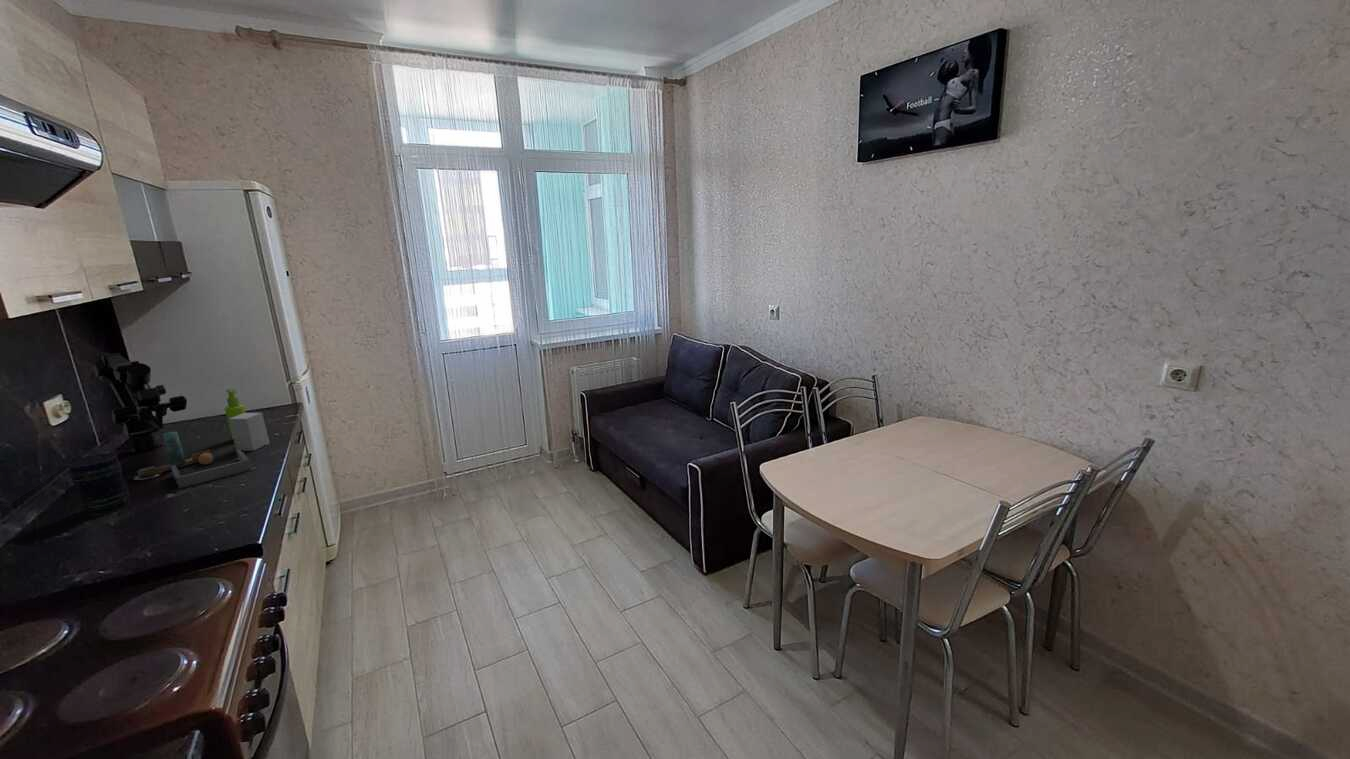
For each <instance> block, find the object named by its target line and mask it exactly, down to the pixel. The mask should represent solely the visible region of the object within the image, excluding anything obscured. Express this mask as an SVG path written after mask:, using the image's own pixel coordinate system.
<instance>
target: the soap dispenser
mask: <svg viewBox="0 0 1350 759" xmlns="http://www.w3.org/2000/svg"><path fill="white" fill-rule="evenodd" d="M225 391H226V392H227V393H228V394H227V395H228V398H226V400H227V405H228V406H227V407H224V410H225V415H226V419H227V422H228V423H227V424H228V427H229V431H230V435H231V438H232V440H233V435H232V431H231V427H230V423H229V420H228V419H230V418H232V417H235V416H238V415H240V414H243V413H247V412H246V408H245V404H240V400H239V397H238V396H236V395H235V394H238V393H237V390H236V389H235V388H229V389H226V390H225Z"/></svg>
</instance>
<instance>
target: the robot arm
mask: <svg viewBox="0 0 1350 759" xmlns="http://www.w3.org/2000/svg"><path fill="white" fill-rule="evenodd" d="M93 370H94V371H93V372H94V375H95V377H96V378H99V380H100V381H101V383H102V384H105V385H107V386H110V388H112V391H113V393H114V394H115V396H116V398H117V400H118V402H119V404H120V405H121V407H116V408H114V409H113V410H112V411H111V418H112V421H113V423H114V425H119V424H120V425H121V424H123V427H122V428H123V430H122V431H123V434H124V435H125V436H124V437H125V438H128V439H131V444H132V448H133V449H132V450H130V453H131V452H133V453H138V452H137V451H148V452H151V451H153V450H152V449H154V450H155V448H156V447H158V446H160V444H161V445H162V446H163V443H158V440H157V437H156V434H155V433H156V432H160V430H162V429H164V422H163V421H164V420H163V417H165V416H166V415H168V414H167V412H168V409H169V410H170V411H171V412H173V413H174V412H180V411H184V410H186V409H187V401H188V399H187V398H186V397H185V396H183V395H179V396H178V395H177V396H172V397H169V400H168V402H167V401H166V402H162V403H160V402H161V401H162V399H161V396H164V395H166V394H167V390H166V388H165V386H164V385H163V384H159V385H156V386H155V387H151V385H150V382H151V371H152V370H151V367H150V366H149V365H148V364H144V363H140V362H139V360H135V361H134V360H133V361H129V360H128V359H127V358H125V357H124V356H123V355H122V353H120V352H115V353H106V354H104V355H101V358H100V359H99V360H97V361H96V362H94V365H93ZM153 412H154V413H155V414H154V413H153ZM160 447H161V446H160ZM158 448H159V447H158ZM156 449H157V448H156ZM150 450H151V451H150Z"/></svg>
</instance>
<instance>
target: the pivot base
mask: <svg viewBox="0 0 1350 759" xmlns="http://www.w3.org/2000/svg"><path fill="white" fill-rule="evenodd" d="M162 473H163V472H160V473H157V474H156V475H153V476H150V477H146V478H139V475H136V476H134V477H133V481H135V480H142V481H147V480H146V479H148V480H151V479H150V478H152V479H155V478H157V476H158V477H160V476H161V474H162ZM163 474H164V473H163ZM163 474H162V475H163ZM154 477H155V478H154Z"/></svg>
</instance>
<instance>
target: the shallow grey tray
mask: <svg viewBox="0 0 1350 759" xmlns="http://www.w3.org/2000/svg"><path fill="white" fill-rule="evenodd" d="M235 452H236V456H237V459H238V461H236V462H232V463H227V464H224V465H220V466H216V467H212V468H208V469H204V470H199V471H196V472H191V473H188V474H183V475H181V474H180V471H179V468H177V467H176V465H173V466H171V470H170V471H171V472H172V473H171V474H172V477H173V478H174V481H175V482H176V485H177V487H178V489H179V488H180V489H182V488H181V487H184V488H187V487H186V486H188V487H190V486H189V485H192V486H194V484H195V485H198V484H202V483H205V482H206V483H207V482H211V481H213V480H214V481H215V480H217V479H221V478H225V477H228V476H229V477H230V476H232V475H236V474H241V473H244V472H248V471H252V470H253V468H252V464H251V460H250V459H249V458H248V457H247V456H246V454H245V452H244V451H241V450H235Z"/></svg>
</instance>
